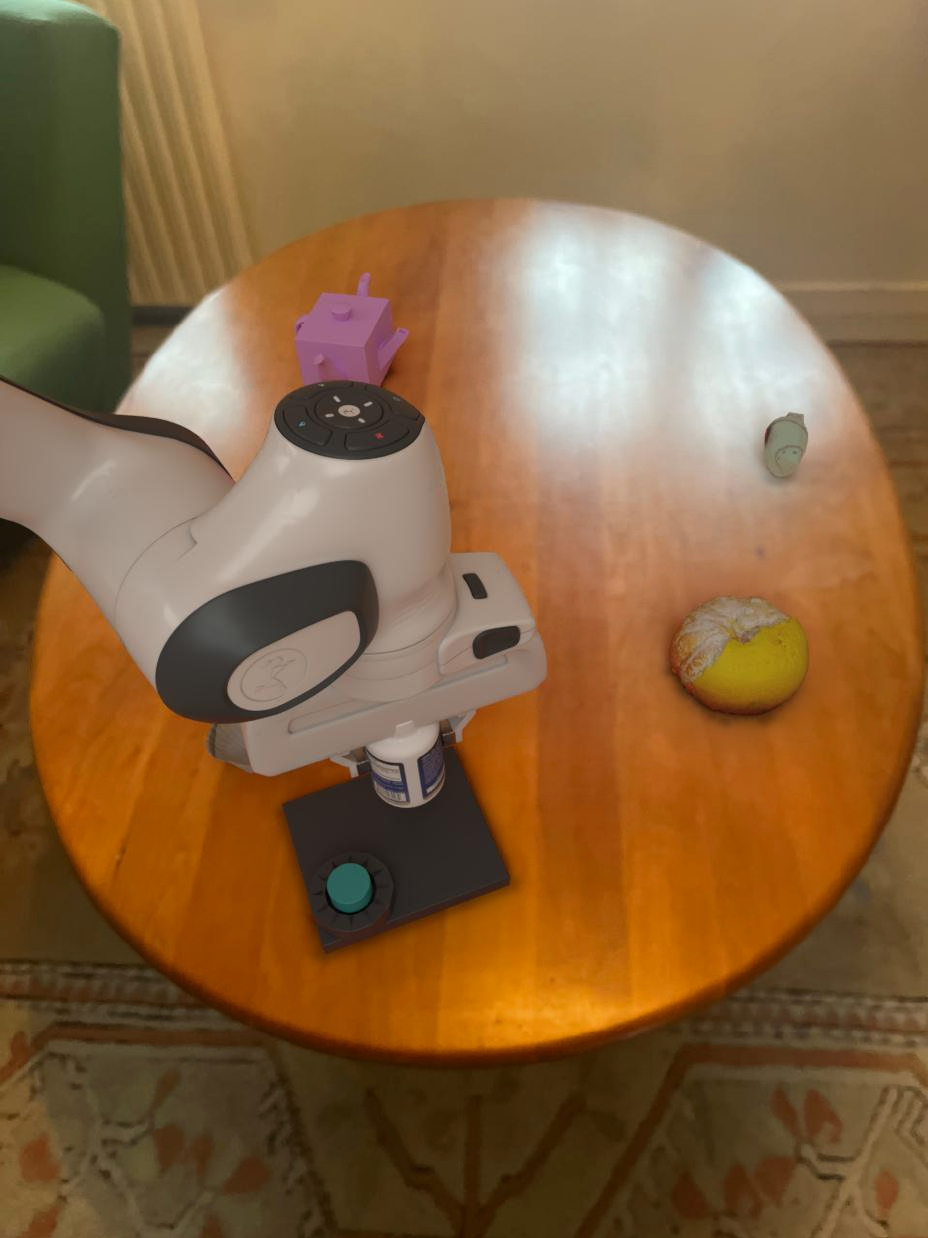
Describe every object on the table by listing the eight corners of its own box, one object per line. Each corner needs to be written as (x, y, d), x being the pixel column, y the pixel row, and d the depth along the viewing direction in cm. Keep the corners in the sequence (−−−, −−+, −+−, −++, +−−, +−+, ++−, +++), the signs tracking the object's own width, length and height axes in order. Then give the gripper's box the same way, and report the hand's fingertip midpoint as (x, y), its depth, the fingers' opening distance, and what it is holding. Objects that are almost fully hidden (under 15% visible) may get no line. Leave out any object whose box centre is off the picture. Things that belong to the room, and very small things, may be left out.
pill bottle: (433, 737, 72) (423, 658, 65) (455, 797, 69) (447, 721, 61) (364, 758, 71) (346, 680, 64) (383, 819, 68) (366, 745, 60)
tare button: (336, 919, 66) (333, 910, 65) (325, 881, 68) (322, 871, 66) (378, 904, 66) (375, 894, 65) (365, 866, 68) (363, 856, 67)
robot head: (794, 503, 94) (810, 449, 89) (752, 496, 95) (765, 443, 90) (799, 451, 99) (815, 398, 94) (759, 445, 100) (773, 392, 94)
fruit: (781, 610, 85) (811, 571, 77) (801, 724, 80) (834, 694, 73) (656, 614, 84) (673, 576, 77) (669, 728, 80) (689, 699, 73)
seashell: (290, 707, 83) (197, 726, 80) (290, 680, 81) (195, 698, 78) (319, 771, 77) (220, 795, 74) (320, 743, 75) (218, 766, 72)
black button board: (326, 960, 67) (320, 944, 64) (285, 812, 74) (277, 793, 72) (512, 890, 69) (512, 872, 67) (453, 754, 77) (451, 734, 75)
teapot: (390, 439, 103) (380, 362, 95) (276, 424, 105) (258, 348, 98) (434, 343, 114) (428, 268, 106) (330, 332, 116) (317, 258, 109)
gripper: (222, 722, 53) (271, 839, 63) (561, 614, 57) (554, 741, 67) (201, 639, 56) (251, 762, 67) (520, 544, 60) (519, 675, 71)
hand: (405, 751), depth 67 cm, fingers closed on pill bottle, 5 cm apart
